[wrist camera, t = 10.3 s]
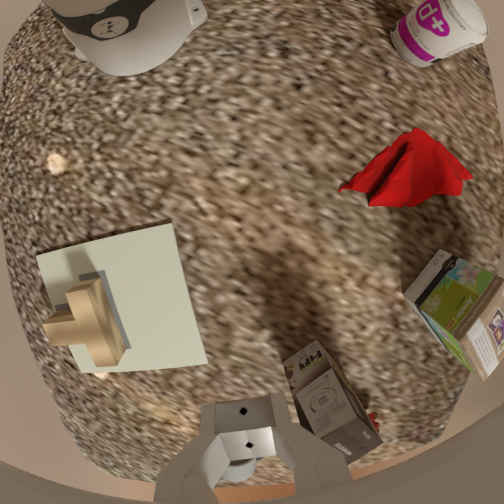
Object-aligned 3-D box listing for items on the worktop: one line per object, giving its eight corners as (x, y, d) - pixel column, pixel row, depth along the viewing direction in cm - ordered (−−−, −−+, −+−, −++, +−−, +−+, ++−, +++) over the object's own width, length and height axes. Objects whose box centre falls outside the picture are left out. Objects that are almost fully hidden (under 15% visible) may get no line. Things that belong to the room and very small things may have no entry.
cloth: (471, 146, 34) (480, 145, 32) (467, 225, 38) (476, 228, 35) (336, 109, 32) (343, 105, 30) (333, 213, 35) (339, 215, 33)
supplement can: (395, 63, 30) (459, 27, 16) (382, 19, 28) (435, -25, 14) (434, 73, 31) (499, 48, 16) (422, 31, 29) (478, -2, 14)
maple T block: (48, 287, 34) (32, 299, 29) (100, 277, 34) (86, 289, 29) (74, 352, 36) (62, 367, 32) (126, 348, 37) (117, 365, 32)
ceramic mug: (216, 456, 44) (216, 487, 37) (211, 432, 42) (211, 465, 35) (270, 453, 45) (276, 483, 38) (271, 429, 43) (278, 461, 36)
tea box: (399, 295, 39) (460, 342, 24) (438, 246, 37) (507, 275, 23) (436, 341, 42) (484, 385, 27) (469, 299, 40) (522, 333, 26)
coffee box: (280, 362, 39) (304, 446, 24) (316, 337, 39) (358, 415, 23) (311, 394, 42) (340, 470, 26) (344, 372, 41) (385, 444, 25)
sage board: (37, 255, 33) (36, 255, 32) (172, 222, 34) (171, 223, 33) (82, 371, 38) (81, 372, 37) (208, 361, 38) (208, 363, 38)
